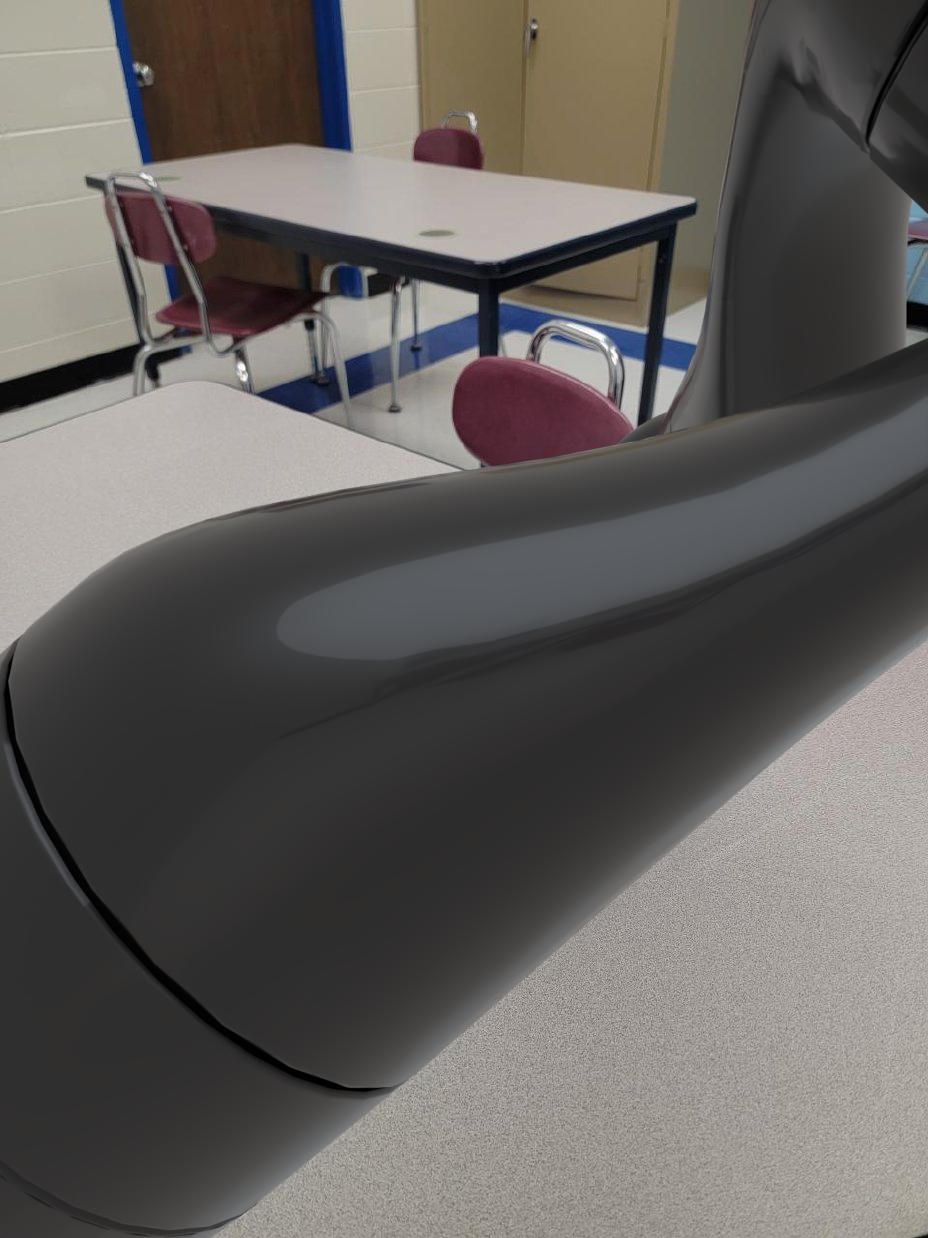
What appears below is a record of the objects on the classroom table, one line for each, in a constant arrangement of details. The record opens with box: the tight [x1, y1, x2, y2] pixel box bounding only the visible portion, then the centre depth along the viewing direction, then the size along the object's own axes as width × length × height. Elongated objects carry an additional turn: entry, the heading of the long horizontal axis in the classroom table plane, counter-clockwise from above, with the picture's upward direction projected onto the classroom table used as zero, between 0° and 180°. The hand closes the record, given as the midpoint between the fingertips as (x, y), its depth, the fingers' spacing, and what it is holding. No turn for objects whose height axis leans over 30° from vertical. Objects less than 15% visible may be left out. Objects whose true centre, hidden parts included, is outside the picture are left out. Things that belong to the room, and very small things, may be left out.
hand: (418, 672), depth 72 cm, fingers open, 6 cm apart
